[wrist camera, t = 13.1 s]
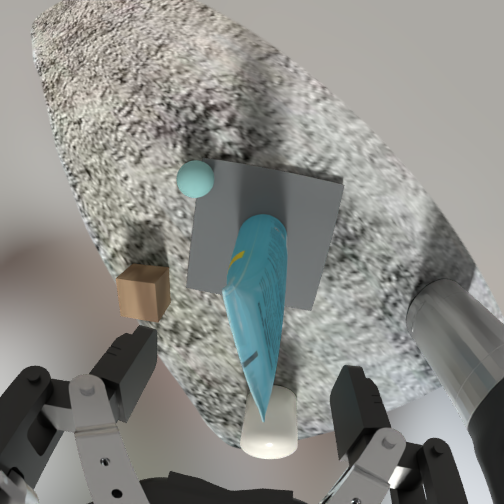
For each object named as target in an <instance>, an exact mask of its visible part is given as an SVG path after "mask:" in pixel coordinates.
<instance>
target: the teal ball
mask: <svg viewBox="0 0 504 504" xmlns="http://www.w3.org/2000/svg"><path fill="white" fill-rule="evenodd" d="M213 184H214V173H213V171H212V169H211V167H210V166H209V165H208V164H206V163H205V162H202V161H198V160H194V161H190V162H187V163H185V164H184V165H183V166H182V167H181V168H180V170H179V171H178V174H177V185H178V188H179V189H180V191H181V192H182V193H183V194H184V195H186V196H188V197H192V198H199V197H202V196H204V195H206V194H207V193H208V192H209V191H210V190H211V189H212V187H213Z"/></svg>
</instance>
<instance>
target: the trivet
mask: <svg viewBox="0 0 504 504" xmlns="http://www.w3.org/2000/svg"><path fill="white" fill-rule="evenodd" d="M202 162H205V163H206V164H208V165H209V166H210V167H211V169H212V171H213V173H214V184H213V187H212V189H211V190H210V191H209V192H208V193H207V194H206V195H204V196H202V197H199V198H197V200H196V208H195V215H194V223H193V231H192V239H191V248H190V256H189V266H188V276H187V286H186V288H191V289H196V290H201V291H205V292H210V293H215V294H220V295H223V294H222V289H223V288H224V287H225V286H227V273H228V268H229V264H230V261H231V257H232V254H233V250H234V247H235V243H236V240H237V236H238V233H239V230H240V228H241V226H242V224H243V223H244V222H245V221H246V220H247V219H248V218H250V217H252V216H255V215H259V214H267V215H271V216H273V217H275V218H277V219H278V220H279V221H280V222H281V223H282V224H283V226H284V227H285V229H286V232H287V244H288V255H287V278H286V292H285V304H284V306H285V307H291V308H297V309H303V310H310V311H311V310H312V307H313V303H314V300H315V297H316V293H317V290H318V286H319V283H320V279H321V276H322V272H323V269H324V265H325V262H326V258H327V254H328V251H329V247H330V243H331V239H332V235H333V231H334V227H335V223H336V219H337V215H338V211H339V207H340V202H341V198H342V194H343V189H344V185H343V184H339V183H335V182H330V181H326V180H322V179H318V178H313V177H309V176H304V175H299V174H295V173H290V172H285V171H280V170H275V169H270V168H264V167H259V166H254V165H248V164H242V163H236V162H230V161H224V160H217V159H210V158H203V160H202Z"/></svg>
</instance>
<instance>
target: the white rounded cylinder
mask: <svg viewBox="0 0 504 504" xmlns="http://www.w3.org/2000/svg"><path fill="white" fill-rule="evenodd" d="M240 446H241V448H242V449H243V451H245V452H246V453H247V454H249V455H251V456H254V457H258V458H263V459H277V458H282V457H285V456H288V455H290V454H292V453H293V452H294V451H295V450H296V449H297V399H296V396H295V394H294V393H293V392H292V391H290V390H289V389H287V388H285V387H282V386H278V385H273V387H272V392H271V396H270V400H269V403H268V407H267V411H266V414H265V422H262V419H261V415H260V413H259V409H258V407H257V405H256V403H255V401H254V398H253V396H252V394H251V392H250V393H249V395H248V397H247V403H246V409H245V416H244V422H243V429H242V435H241V441H240Z"/></svg>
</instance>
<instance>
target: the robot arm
mask: <svg viewBox="0 0 504 504" xmlns="http://www.w3.org/2000/svg"><path fill="white" fill-rule="evenodd" d="M406 324H407V329H408V332H409V334H410V335H411V337H412V338H413V340H414V341H415V343H416V344H417V346H418V348H419V349H420V351H421V352H422V354H423V356H424V357H425V359H426V360H427V362H428V363H429V365H430V367H431V368H432V370H433V372H434V373H435V375H436V376H437V378H438V380H439V381H440V383H441V385H442V386H443V388H444V390H445V391H446V393H447V395H448V397H449V398H450V400H451V402H452V403H453V405H454V407H455V409H456V410H457V412H458V414H459V416H460V417H461V419H462V421H463V423H464V425H465V427H466V428H467V430H468V432H469V434H470V436H471V438H472V440H473V444H474V449H475V454H476V457H477V460H478V462H479V464H480V466H481V469H482V471H483V474H484V476H485V479H486V482H487V485H488V487H489V491H490V494H491V497H492V500H493V504H504V324H503V323H502V322H501V321H499V320H498V319H497V318H496V317H495V316H494V315H493V314H492V313H491V312H490V311H489V310H488V309H486V308H485V307H484V306H483V305H482V304H481V303H480V302H479V301H477V300H476V299H475V298H474V297H473V296H472V295H471V294H470V293H468V292H467V291H466V290H465V289H464V288H463V287H461V286H460V285H459V284H458V283H456V282H455V281H453V280H449V279H441V280H438V281H435V282H433V283H431V284H429V285H428V286H426V287H425V288H424V289H423V290H422V291H421V292H420V293H419V294H418V295H417V296H416V298H415V299H414V300H413V302H412V304H411V306H410V308H409V311H408V314H407V320H406ZM156 362H157V330H156V329H153V328H149V327H145V326H142V325H139V326H138V327H137V329H136V330H135V331H134V333H133V334H128V333H125V334H123V335H121V336H120V337H118V338H116V340H115V341H114V342H113V343H112V345H111V347H109V349H108V350H107V351H106V353H105V354H104V355H103V356H102V358H101V359H100V360H99V362H98V363H97V364H96V365H95V367H94V368H93V369H92V370H91V372H90V373H89V374H83V375H79V376H77V377H75V378H73V379H72V381H63V380H57V379H51V377H50V374H49V372H48V371H47V370H46V369H45V368H43V367H40V366H30V367H27V368H25V369H24V370H22V371H21V373H20V374H19V375H18V376H17V377H16V379H15V380H14V381H13V382H12V383H11V385H10V386H9V387H8V388H7V389H6V391H5V392H4V393H3V394H2V396H1V397H0V504H39V499H38V496H37V494H36V493H35V491H34V488H35V485H36V484H37V482H38V480H39V478H40V475H41V473H42V471H43V470H44V468H45V466H46V464H47V462H48V460H49V458H50V456H51V454H52V453H53V451H54V449H55V447H56V445H57V443H58V441H59V440H60V438H61V436H62V434H63V432H64V431H68V432H74V434H75V440H76V444H77V448H78V452H79V456H80V460H81V464H82V468H83V471H84V475H85V478H86V481H87V485H88V488H89V491H90V494H91V497H92V500H93V502H91V503H88V504H307V503H305V502H303V501H301V500H298V499H295V498H293V491H289V490H274V489H253V490H239V491H230V490H227V489H224V488H222V487H219V486H217V485H214V484H212V483H210V482H207V481H205V480H203V479H200V478H196V477H192V476H188V475H183V474H180V473H176V472H172V471H170V473H169V476H168V478H166V477H156V478H148V479H144V480H140V481H139V480H138V478H137V476H136V473H135V471H134V469H133V466H132V464H131V461H130V459H129V456H128V454H127V452H126V448H125V446H124V443H123V440H122V438H121V435H120V432H119V429H118V427H117V425H116V423H117V421H118V420H120V421H122V422H125V423H127V421H128V419H129V417H130V415H131V413H132V411H133V409H134V408H135V406H136V404H137V402H138V400H139V398H140V396H141V394H142V392H143V390H144V388H145V386H146V384H147V382H148V380H149V379H150V377H151V375H152V373H153V371H154V369H155V366H156ZM382 403H383V402H382V399H381V397H380V393H379V390H378V388H377V386H376V385H375V384H374V382H373V381H372V380H371V379H370V378H366V377H365V374H364V371H363V369H362V367H360V366H350V365H344V366H343V368H342V369H341V372H340V374H339V376H338V378H337V380H336V382H335V384H334V386H333V389H332V391H331V395H330V406H331V412H332V418H333V424H334V430H335V437H336V443H337V450H338V457H339V461H349V467H348V468H347V469H346V470H345V472H344V473H343V475H342V476H341V477H340V478H339V480H338V481H337V482H336V484H335V485H334V486H333V487H332V489H331V490H330V491H329V492H328V493H327V495H326V496H325V497H324V498H323V499H322V500H321V501H320V502H319V504H381V502H382V500H383V499H384V497H385V495H386V493H387V491H388V489H389V488H390V493H391V500H392V504H468V501H467V498H466V494H465V491H464V488H463V484H462V482H461V478H460V475H459V472H458V469H457V466H456V463H455V461H454V458H453V455H452V452H451V449H450V447H449V445H448V444H447V443H445V441H443V440H441V439H439V438H430V439H428V440H427V441H426V442H425V443H424V444H423V445H419V444H414V443H409V442H406V440H405V438H404V436H403V435H402V434H401V433H400V432H399V431H397V430H395V429H392V428H391V425H390V422H389V419H388V416H387V413H386V410H385V407H384V404H382ZM422 484H424V489H425V493H426V498H427V499H426V498H425V494H424V489H423V485H422Z"/></svg>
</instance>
